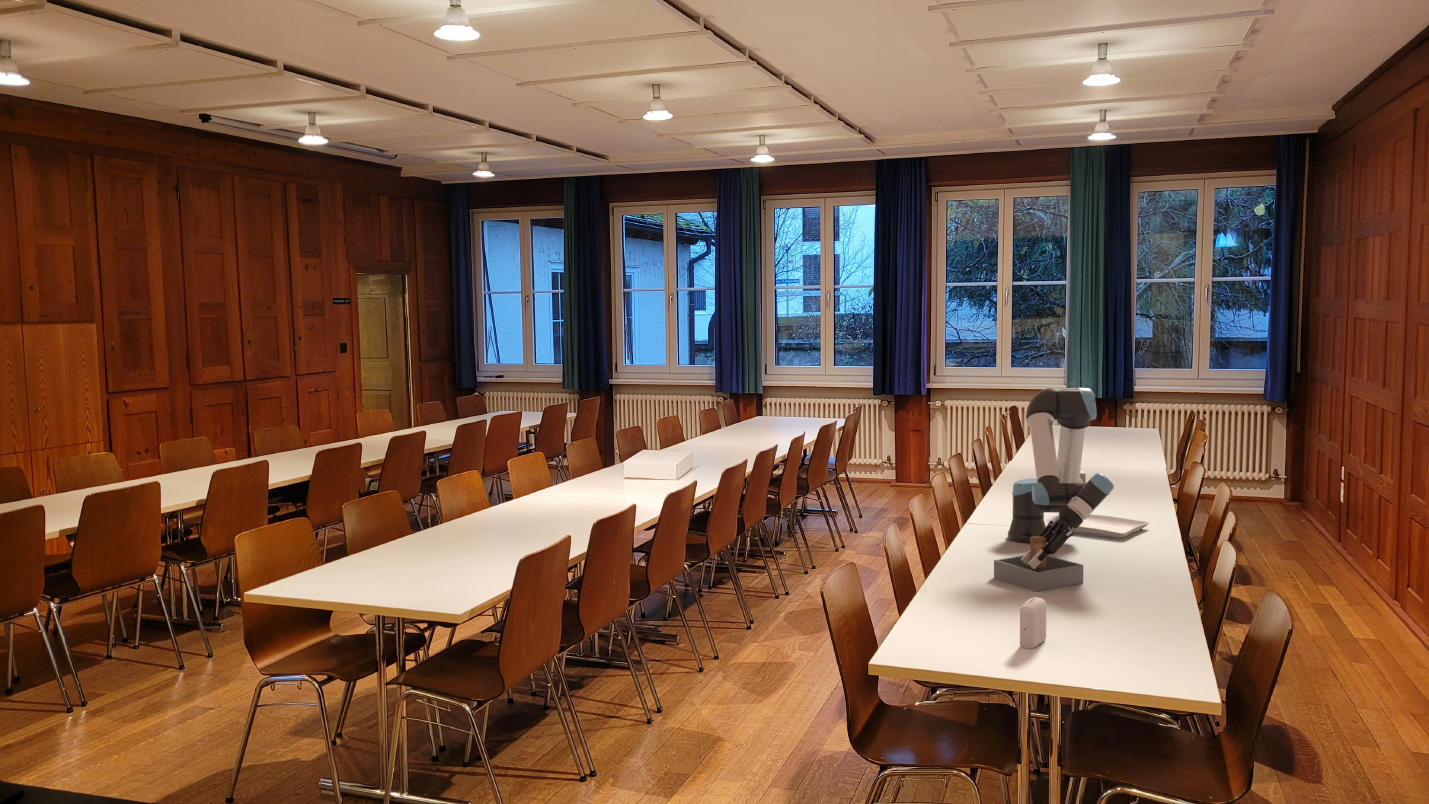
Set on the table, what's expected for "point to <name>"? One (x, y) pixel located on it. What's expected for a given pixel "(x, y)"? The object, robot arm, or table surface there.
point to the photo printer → (1032, 623)
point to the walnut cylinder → (1035, 547)
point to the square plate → (1109, 526)
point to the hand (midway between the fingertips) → (1027, 564)
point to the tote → (1039, 573)
